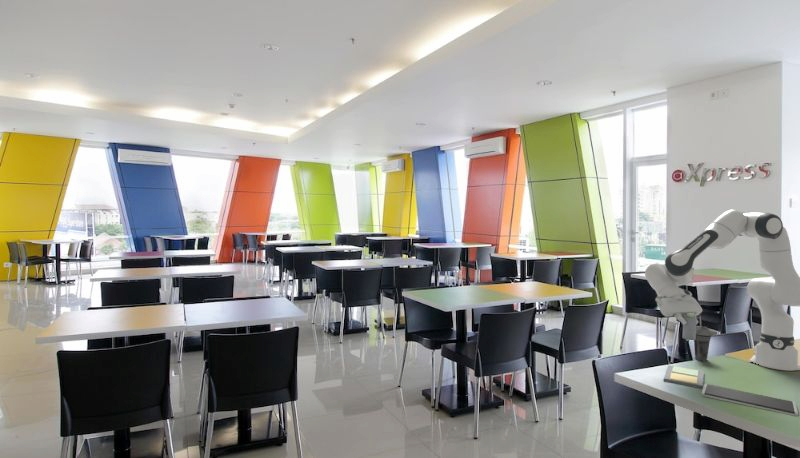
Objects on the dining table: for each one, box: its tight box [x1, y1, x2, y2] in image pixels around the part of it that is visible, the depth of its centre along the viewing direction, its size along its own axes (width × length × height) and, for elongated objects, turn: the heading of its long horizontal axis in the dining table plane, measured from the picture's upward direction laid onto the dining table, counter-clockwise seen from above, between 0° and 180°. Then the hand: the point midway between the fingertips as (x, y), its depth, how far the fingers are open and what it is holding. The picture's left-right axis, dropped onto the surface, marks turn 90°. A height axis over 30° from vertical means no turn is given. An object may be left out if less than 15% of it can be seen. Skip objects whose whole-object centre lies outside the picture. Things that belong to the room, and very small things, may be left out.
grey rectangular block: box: [682, 313, 698, 341], centre depth 195 cm, size 5×5×11 cm
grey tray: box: [700, 383, 799, 417], centre depth 167 cm, size 13×27×2 cm, turn 53°
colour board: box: [663, 364, 705, 389], centre depth 191 cm, size 22×13×1 cm, turn 146°
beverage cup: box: [693, 315, 712, 361], centre depth 218 cm, size 7×7×20 cm
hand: (691, 323), depth 194 cm, fingers closed on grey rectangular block, 5 cm apart
